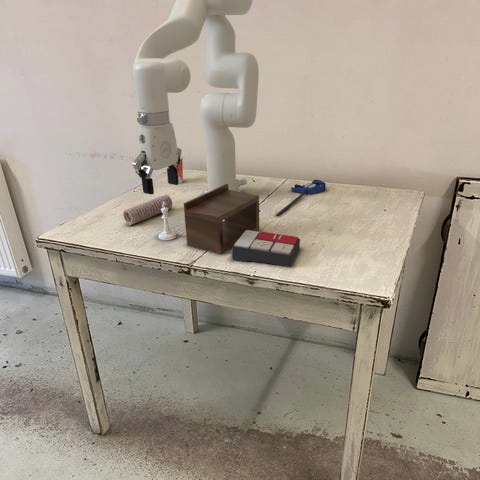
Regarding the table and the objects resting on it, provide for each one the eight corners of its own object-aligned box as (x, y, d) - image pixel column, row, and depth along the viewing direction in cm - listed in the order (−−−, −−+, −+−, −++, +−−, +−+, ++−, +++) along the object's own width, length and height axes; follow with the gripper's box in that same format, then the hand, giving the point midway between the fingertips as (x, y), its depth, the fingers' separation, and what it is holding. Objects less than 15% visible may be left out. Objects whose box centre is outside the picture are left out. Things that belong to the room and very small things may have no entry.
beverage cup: (184, 184, 176) (181, 144, 168) (167, 184, 176) (163, 144, 168) (185, 179, 181) (182, 140, 173) (169, 179, 181) (165, 140, 173)
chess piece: (179, 234, 136) (176, 199, 130) (171, 241, 132) (167, 205, 126) (163, 232, 137) (159, 198, 132) (155, 239, 133) (151, 203, 128)
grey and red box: (291, 253, 115) (231, 243, 118) (290, 269, 117) (231, 259, 121) (300, 235, 123) (244, 227, 127) (299, 251, 126) (244, 242, 129)
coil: (131, 213, 138) (174, 196, 150) (119, 208, 141) (163, 192, 153) (132, 228, 141) (174, 210, 153) (121, 223, 143) (164, 206, 155)
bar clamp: (301, 177, 171) (328, 180, 166) (301, 183, 172) (328, 187, 168) (260, 208, 148) (290, 213, 144) (260, 216, 149) (290, 221, 145)
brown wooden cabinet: (227, 222, 142) (226, 183, 136) (259, 229, 137) (259, 189, 131) (187, 245, 129) (183, 203, 123) (220, 254, 124) (218, 210, 118)
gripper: (140, 126, 110) (149, 199, 119) (188, 115, 122) (193, 182, 131) (117, 123, 114) (127, 195, 122) (165, 112, 126) (171, 178, 135)
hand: (161, 188), depth 127 cm, fingers open, 9 cm apart
